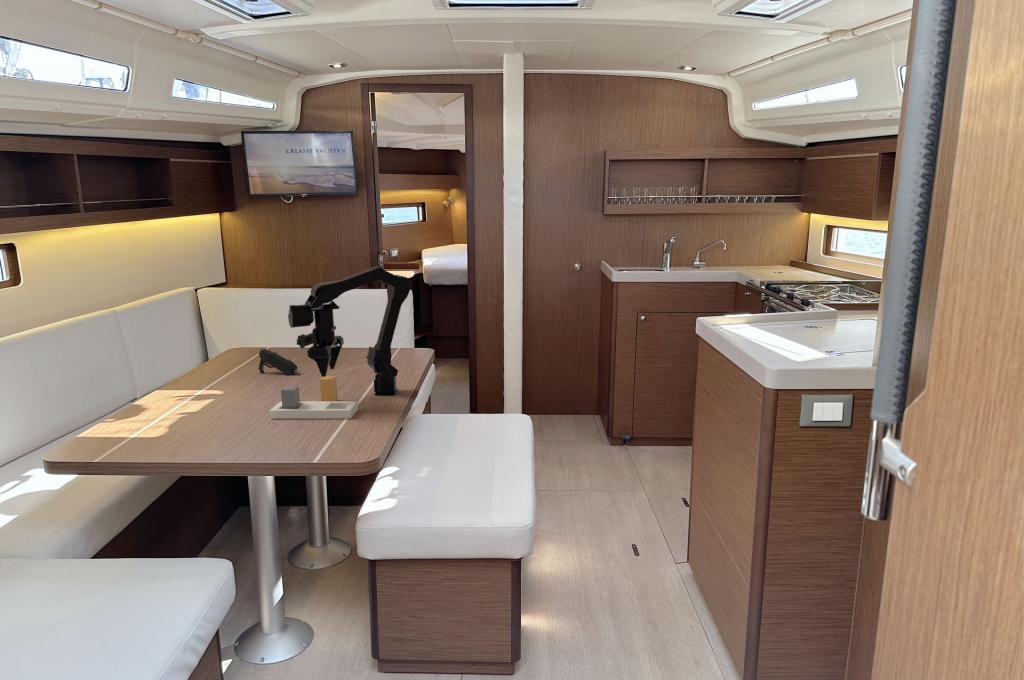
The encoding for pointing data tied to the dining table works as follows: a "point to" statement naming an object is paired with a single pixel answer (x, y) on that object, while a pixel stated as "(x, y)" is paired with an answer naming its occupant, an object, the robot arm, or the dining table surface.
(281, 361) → the gun
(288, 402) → the gray plug
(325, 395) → the orange plug
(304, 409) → the white slotted frame
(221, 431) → the dining table surface
